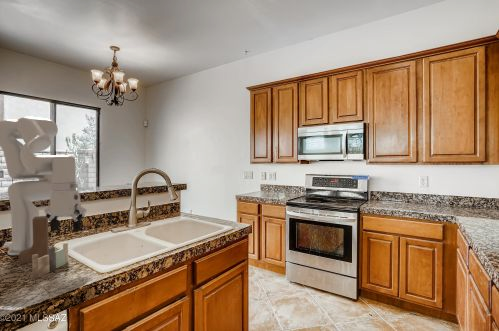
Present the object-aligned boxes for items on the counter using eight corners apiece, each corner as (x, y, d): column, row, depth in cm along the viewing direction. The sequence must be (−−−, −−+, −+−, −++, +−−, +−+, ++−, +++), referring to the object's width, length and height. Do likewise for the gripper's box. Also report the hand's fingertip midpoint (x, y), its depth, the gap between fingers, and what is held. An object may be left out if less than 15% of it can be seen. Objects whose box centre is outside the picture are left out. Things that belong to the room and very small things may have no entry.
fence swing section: (56, 268, 97) (56, 247, 97) (53, 268, 97) (52, 247, 97) (69, 262, 103) (68, 242, 102) (65, 262, 103) (65, 242, 103)
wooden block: (18, 265, 101) (17, 220, 101) (21, 262, 105) (19, 218, 104) (47, 261, 106) (46, 217, 105) (49, 257, 110) (48, 215, 109)
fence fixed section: (36, 281, 89) (35, 255, 88) (30, 281, 89) (30, 255, 89) (56, 271, 97) (55, 247, 96) (51, 270, 97) (51, 247, 97)
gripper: (91, 186, 104) (93, 228, 104) (53, 186, 106) (54, 227, 106) (77, 188, 96) (78, 233, 97) (35, 188, 98) (37, 233, 99)
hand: (65, 230), depth 101 cm, fingers open, 9 cm apart
